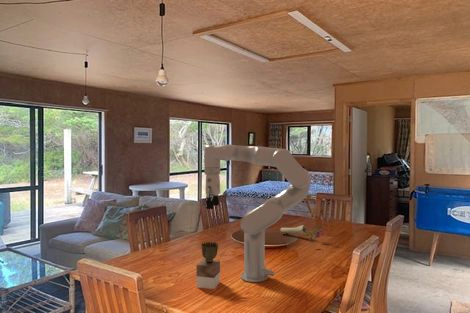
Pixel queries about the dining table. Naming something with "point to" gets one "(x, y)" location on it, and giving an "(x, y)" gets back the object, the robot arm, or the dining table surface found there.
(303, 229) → the flower vase
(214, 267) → the walnut block
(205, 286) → the cream block
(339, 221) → the dining table surface
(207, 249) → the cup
